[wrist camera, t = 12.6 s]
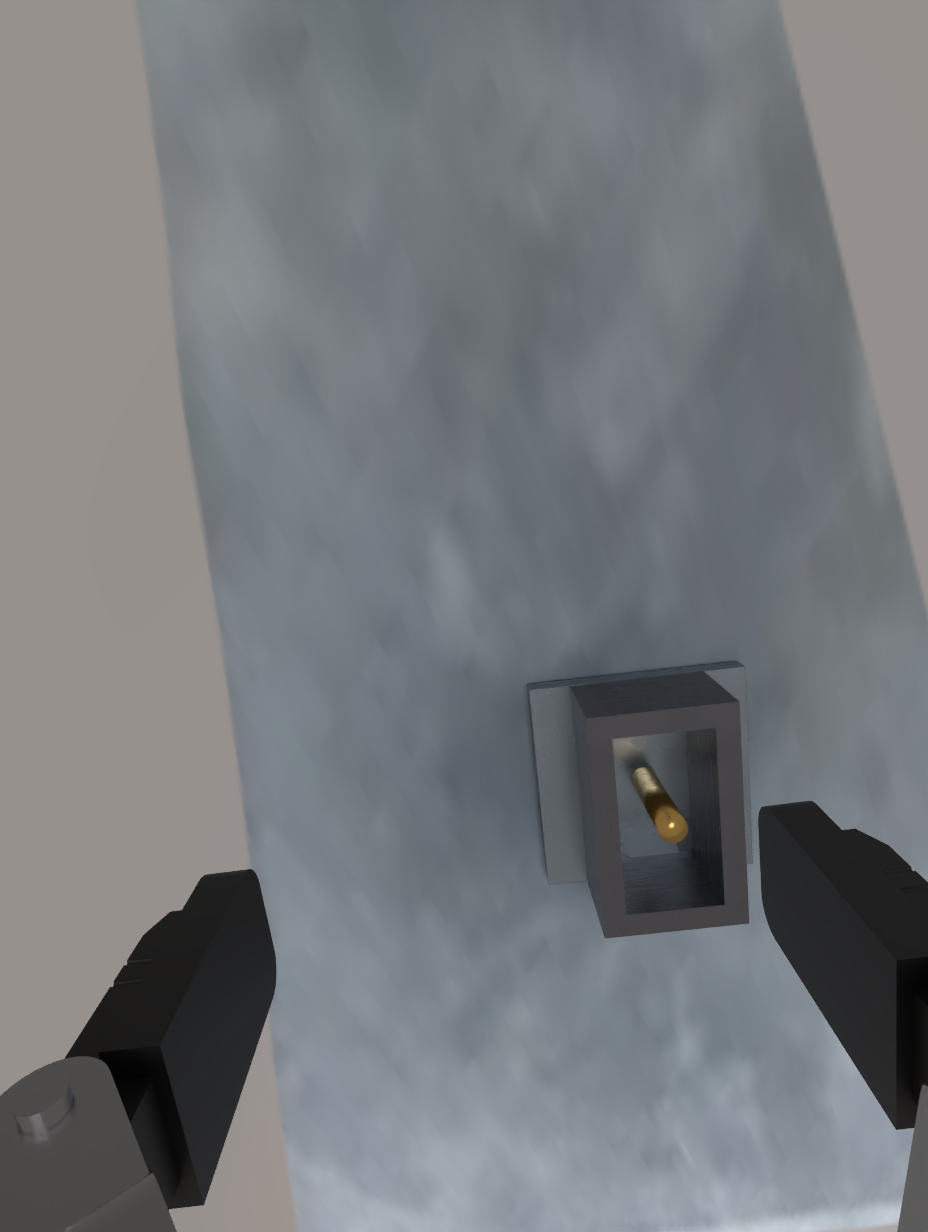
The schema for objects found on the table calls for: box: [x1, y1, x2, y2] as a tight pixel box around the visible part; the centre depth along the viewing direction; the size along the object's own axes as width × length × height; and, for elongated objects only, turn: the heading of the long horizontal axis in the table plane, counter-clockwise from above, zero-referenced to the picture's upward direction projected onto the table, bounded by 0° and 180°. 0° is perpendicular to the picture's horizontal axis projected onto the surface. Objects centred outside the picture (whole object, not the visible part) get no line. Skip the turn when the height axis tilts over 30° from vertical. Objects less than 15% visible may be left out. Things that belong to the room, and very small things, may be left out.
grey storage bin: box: [570, 671, 749, 938], centre depth 33 cm, size 10×6×4 cm, turn 7°
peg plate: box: [527, 661, 753, 885], centre depth 33 cm, size 10×10×6 cm
